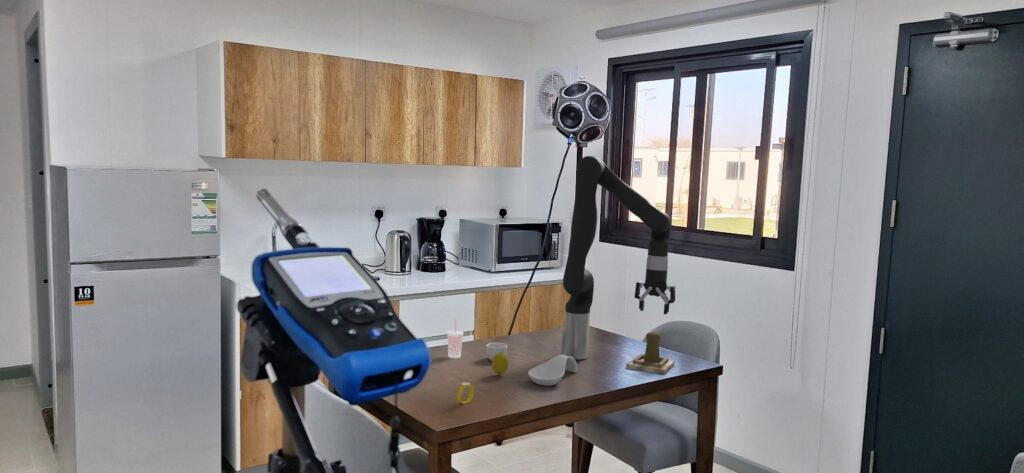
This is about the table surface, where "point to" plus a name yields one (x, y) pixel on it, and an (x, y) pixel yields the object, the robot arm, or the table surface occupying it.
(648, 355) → the pepper mill
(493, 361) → the lemon
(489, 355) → the teacup
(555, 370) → the spoon rest
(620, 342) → the table surface
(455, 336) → the beverage cup
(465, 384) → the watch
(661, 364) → the socket board
